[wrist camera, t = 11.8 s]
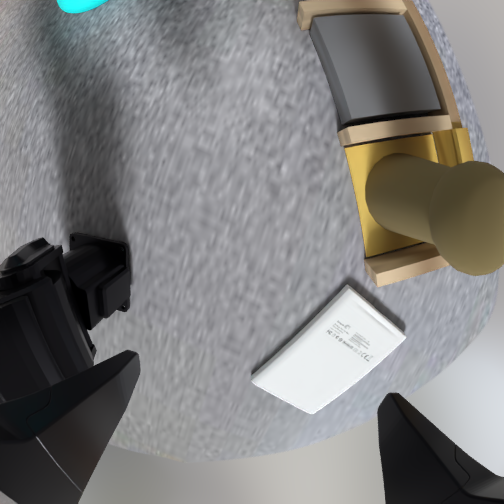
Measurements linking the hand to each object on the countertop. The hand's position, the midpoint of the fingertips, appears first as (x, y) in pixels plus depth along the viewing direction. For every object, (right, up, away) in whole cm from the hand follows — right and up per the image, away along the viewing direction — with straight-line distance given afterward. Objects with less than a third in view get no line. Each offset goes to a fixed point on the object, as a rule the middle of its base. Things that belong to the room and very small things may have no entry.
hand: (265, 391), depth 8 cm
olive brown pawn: (+11, +9, +10) cm, 17 cm away
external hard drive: (+7, -5, +16) cm, 17 cm away
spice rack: (+9, +13, +9) cm, 18 cm away
